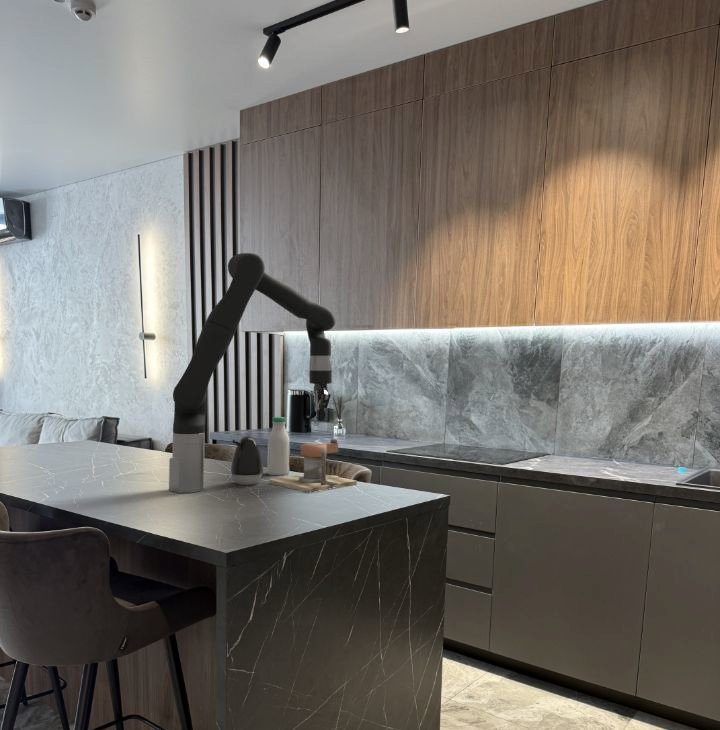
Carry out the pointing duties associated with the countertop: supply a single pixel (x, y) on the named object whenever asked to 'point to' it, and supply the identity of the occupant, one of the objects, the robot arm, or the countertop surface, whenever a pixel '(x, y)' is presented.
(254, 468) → the pump dispenser
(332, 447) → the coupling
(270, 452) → the milk bottle
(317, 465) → the post board
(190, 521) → the countertop surface
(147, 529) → the countertop surface
